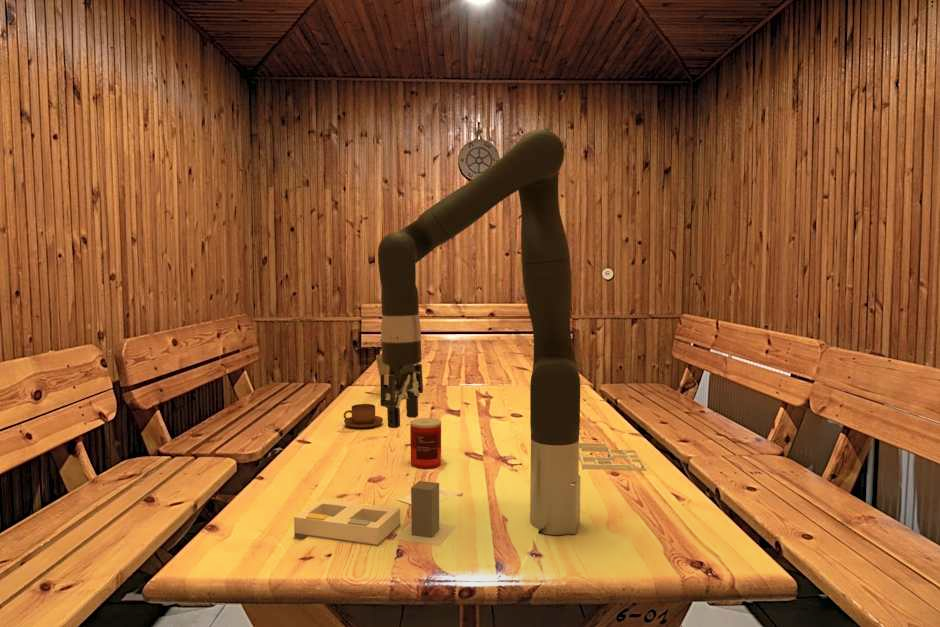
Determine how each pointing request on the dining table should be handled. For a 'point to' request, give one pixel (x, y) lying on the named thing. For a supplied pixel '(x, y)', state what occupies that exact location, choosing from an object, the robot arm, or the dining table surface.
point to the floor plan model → (608, 458)
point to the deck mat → (435, 540)
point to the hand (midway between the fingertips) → (403, 422)
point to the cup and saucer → (362, 416)
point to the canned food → (425, 443)
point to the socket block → (347, 522)
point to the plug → (425, 509)
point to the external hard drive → (443, 495)
